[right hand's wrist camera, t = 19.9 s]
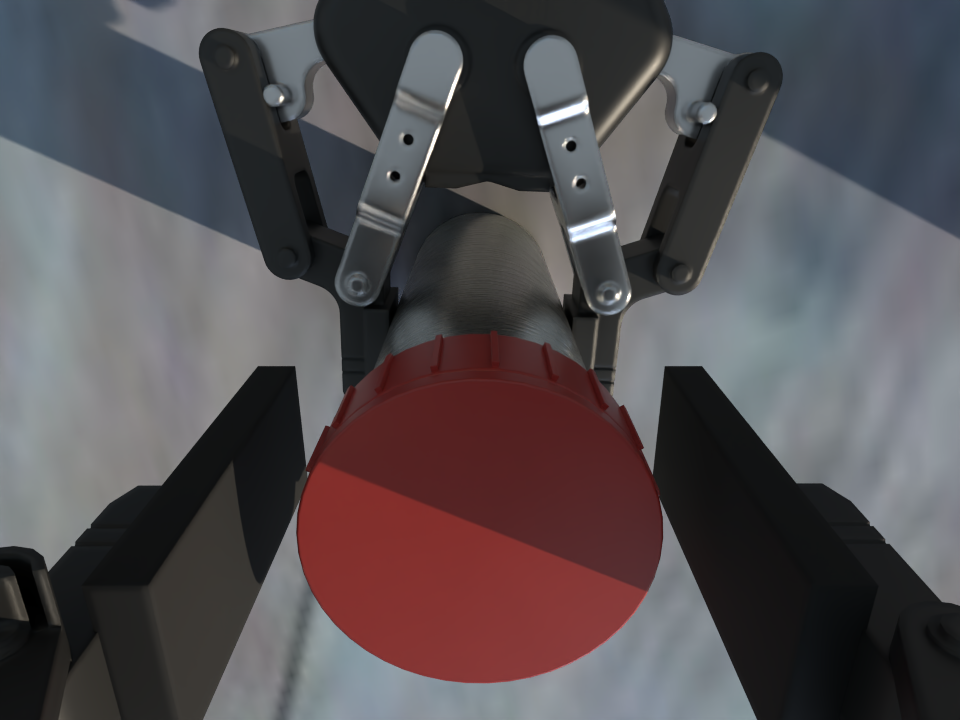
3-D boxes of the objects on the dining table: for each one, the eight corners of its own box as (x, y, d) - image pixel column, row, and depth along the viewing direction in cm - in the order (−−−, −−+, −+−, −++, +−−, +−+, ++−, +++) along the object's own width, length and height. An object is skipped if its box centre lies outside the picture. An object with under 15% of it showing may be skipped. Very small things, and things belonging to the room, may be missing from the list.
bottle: (571, 251, 25) (689, 459, 11) (506, 362, 26) (537, 668, 12) (450, 187, 24) (407, 323, 10) (391, 306, 25) (284, 566, 12)
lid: (464, 651, 14) (461, 736, 12) (253, 463, 12) (213, 529, 10) (702, 494, 12) (739, 564, 10) (500, 259, 11) (505, 292, 9)
